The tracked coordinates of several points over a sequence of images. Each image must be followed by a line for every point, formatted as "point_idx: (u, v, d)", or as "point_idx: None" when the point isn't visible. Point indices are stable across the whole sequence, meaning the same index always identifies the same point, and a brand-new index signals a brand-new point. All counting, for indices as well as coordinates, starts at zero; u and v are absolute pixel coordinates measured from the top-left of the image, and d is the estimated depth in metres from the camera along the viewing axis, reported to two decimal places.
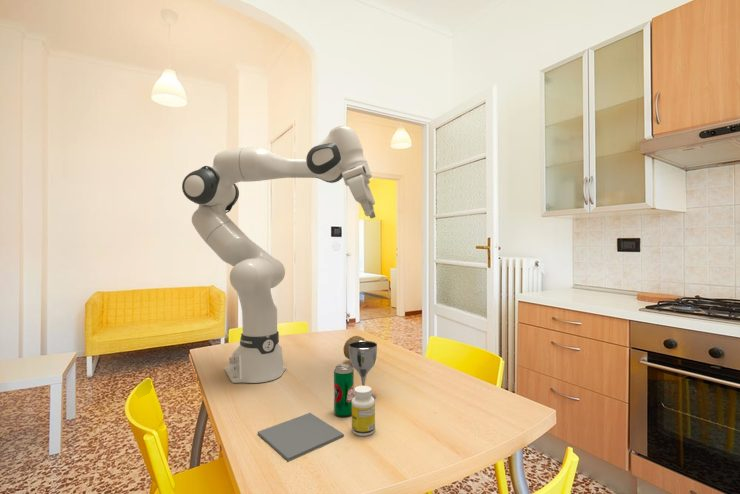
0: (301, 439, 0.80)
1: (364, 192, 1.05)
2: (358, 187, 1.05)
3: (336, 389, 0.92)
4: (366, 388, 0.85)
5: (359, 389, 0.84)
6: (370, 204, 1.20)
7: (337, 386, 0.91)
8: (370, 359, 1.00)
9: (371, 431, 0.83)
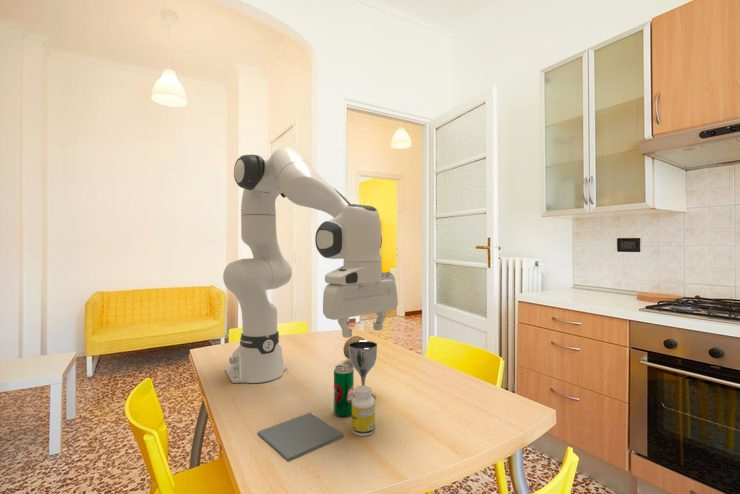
0: (301, 439, 0.80)
1: (331, 313, 0.77)
2: (328, 303, 0.78)
3: (336, 389, 0.92)
4: (366, 388, 0.85)
5: (359, 389, 0.84)
6: None
7: (337, 386, 0.91)
8: (370, 359, 1.00)
9: (371, 431, 0.83)
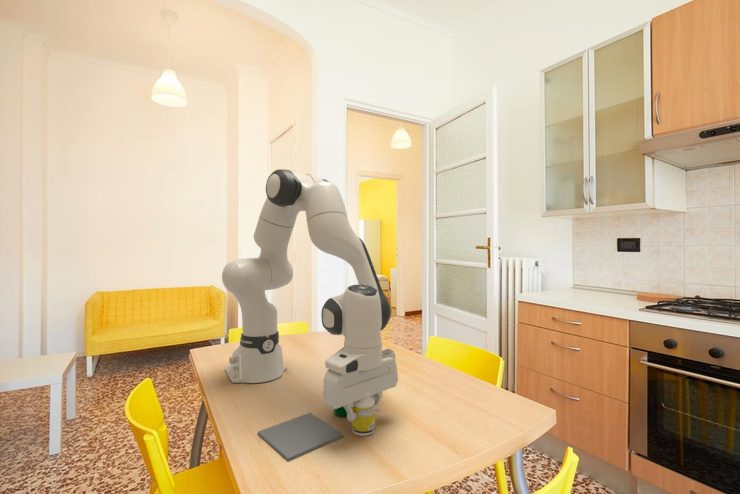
0: (301, 439, 0.80)
1: (332, 403, 0.77)
2: (329, 392, 0.78)
3: None
4: None
5: None
6: None
7: None
8: None
9: (371, 431, 0.83)
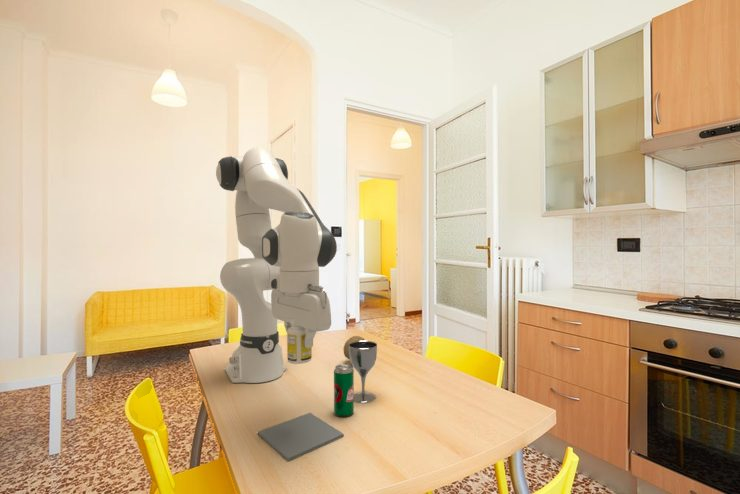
0: (301, 439, 0.80)
1: None
2: None
3: (336, 389, 0.92)
4: None
5: None
6: None
7: (337, 386, 0.91)
8: (370, 359, 1.00)
9: (289, 359, 0.81)
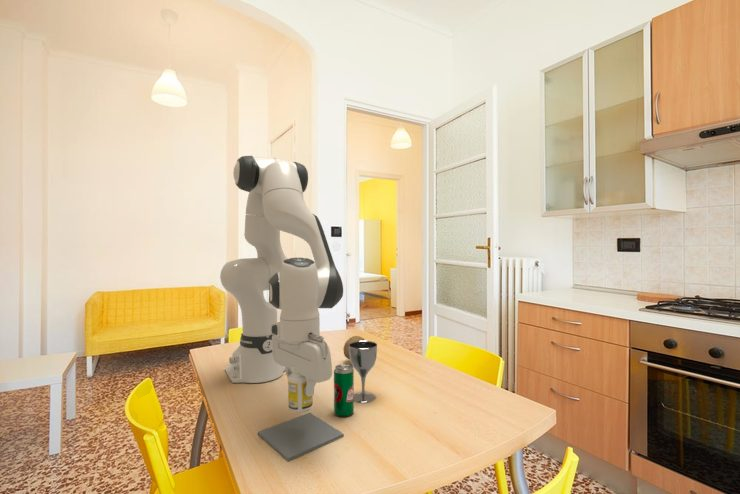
0: (301, 439, 0.80)
1: None
2: None
3: (336, 389, 0.92)
4: None
5: None
6: None
7: (337, 386, 0.91)
8: (370, 359, 1.00)
9: (290, 407, 0.81)
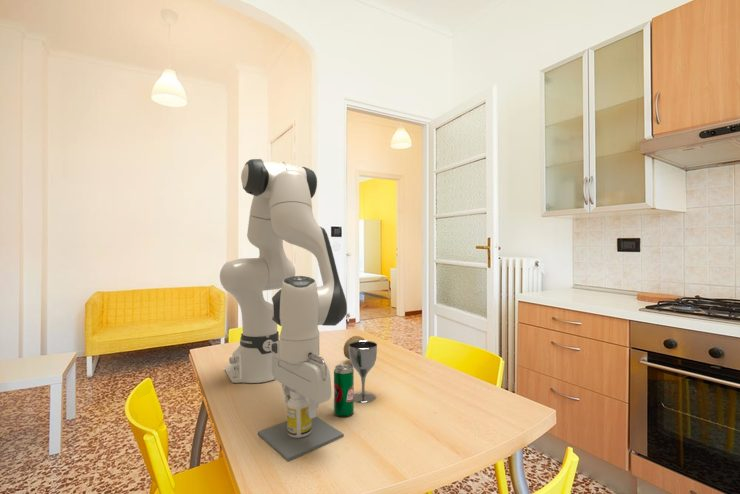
0: (301, 439, 0.80)
1: None
2: None
3: (336, 389, 0.92)
4: None
5: None
6: None
7: (337, 386, 0.91)
8: (370, 359, 1.00)
9: (289, 433, 0.81)
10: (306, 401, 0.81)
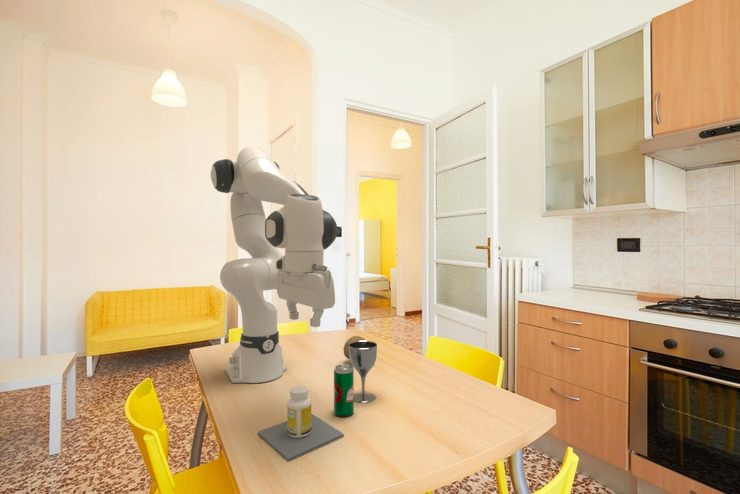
0: (301, 439, 0.80)
1: None
2: None
3: (336, 389, 0.92)
4: (300, 391, 0.82)
5: (297, 388, 0.83)
6: None
7: (337, 386, 0.91)
8: (370, 359, 1.00)
9: (289, 433, 0.81)
10: (306, 401, 0.81)
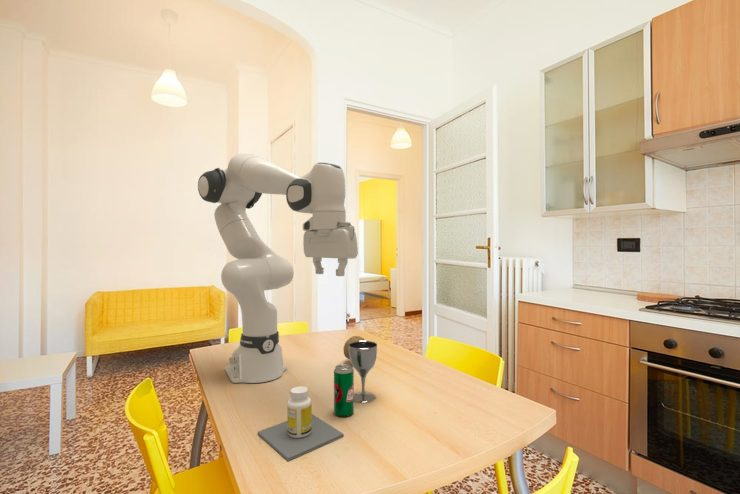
0: (301, 439, 0.80)
1: None
2: None
3: (336, 389, 0.92)
4: (300, 391, 0.82)
5: (297, 388, 0.83)
6: None
7: (337, 386, 0.91)
8: (370, 359, 1.00)
9: (289, 433, 0.81)
10: (306, 401, 0.81)
